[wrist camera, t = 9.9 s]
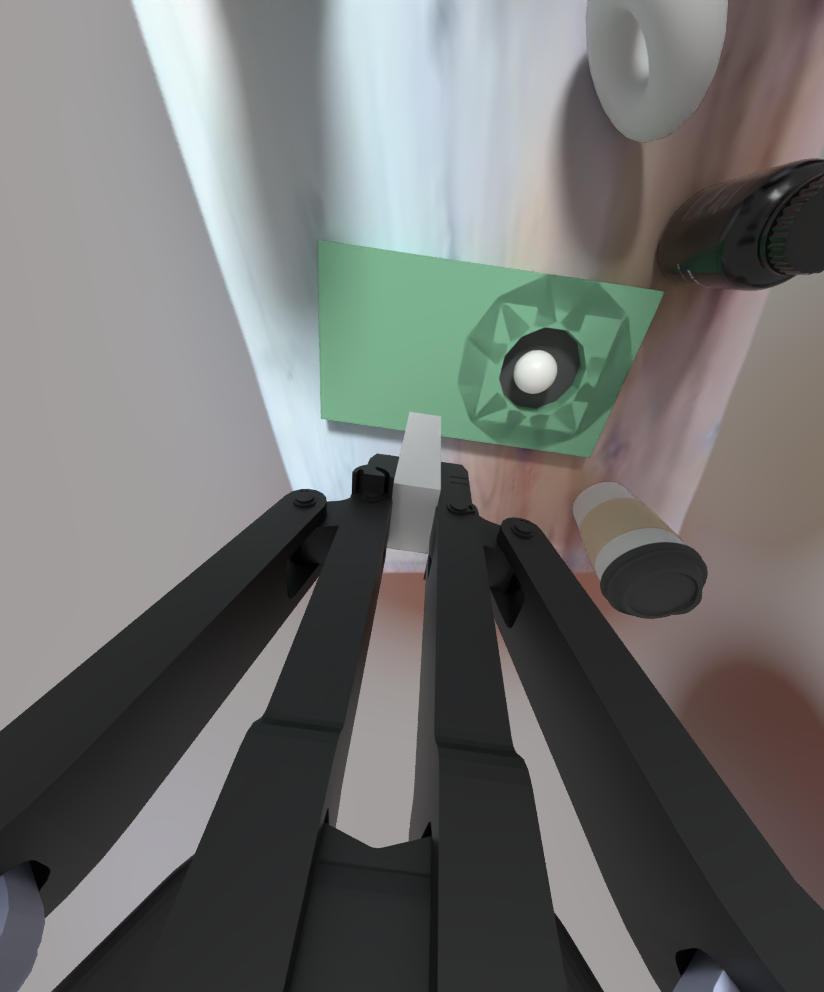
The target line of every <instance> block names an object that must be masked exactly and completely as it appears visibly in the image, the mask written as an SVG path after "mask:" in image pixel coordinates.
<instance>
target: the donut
mask: <svg viewBox="0 0 824 992" xmlns="http://www.w3.org/2000/svg"><path fill="white" fill-rule="evenodd" d="M727 9H728V0H588V3H587V11H586V43H587V53H588V60H589V66H590V72H591V76H592V79H593V83H594V86H595V90H596V93H597V96H598V98H599V100H600V102H601V105H602V107H603V109H604V111H605V113H606V114H607V116H608V117H609V119H610V120H611V122H612V123H613V125H614V126H615V128H616V129H618V130H619V131H620V132H621V133H622V134H623V135H624V136H625V137H626V138H629V139H632V140H635V141H638V142H642V143H647V142H650V141H654V140H658V139H662V138H665V137H667V136H669V135H670V134H672V133H673V132H675V131H676V130H677V129H678V128H679V127H680V126H681V125H682V124H683V123H684V122H685V121H686V120H687V119H688V118H689V117H690V116H691V115H692V114H693V113H694V112H695V111H696V110H697V108H698V106H699V105H700V103H701V102H702V100H703V98H704V96H705V94H706V92H707V90H708V88H709V86H710V84H711V82H712V80H713V78H714V76H715V73H716V70H717V67H718V63H719V59H720V55H721V51H722V47H723V43H724V39H725V35H726V24H727Z"/></svg>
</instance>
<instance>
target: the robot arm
mask: <svg viewBox="0 0 824 992" xmlns="http://www.w3.org/2000/svg"><path fill="white" fill-rule="evenodd" d="M386 548H391V549H398V550H405V551H412V552H419V553H426V554H428V551H429V555H428V560H427V564H426V569H425V574H424V579H425V580H426V584H425V602H424V603H425V604H424V623H423V639H422V657H421V658H422V659H421V675H420V676H421V677H420V694H419V712H418V731H417V749H416V766H415V785H414V798H413V805H412V813H411V820H410V829H409V842H405V843H400V844H396V845H392V846H388V847H383V848H372V847H370V846H368V845H366V844H364V843H362V842H360V841H359V840H357V839H355V838H353V837H351V836H349V835H347V834H345V833H344V832H342V831H340V830H338V829H336V828H335V827H336V822H337V815H338V809H339V803H340V796H341V789H342V783H343V778H344V772H345V767H346V762H347V756H348V751H349V746H350V740H351V735H352V730H353V725H354V719H355V715H356V709H357V704H358V698H359V693H360V688H361V683H362V678H363V673H364V667H365V662H366V657H367V651H368V646H369V641H370V636H371V631H372V625H373V620H374V614H375V609H376V605H377V599H378V594H379V589H380V584H381V578H382V573H383V568H384V563H385V557H386ZM318 577H319V578H318ZM317 578H318V580H317V583H316V586H315V588H314V591H313V594H312V596H311V598H310V601H309V603H308V606H307V608H306V611H305V613H304V616H303V618H302V621H301V624H300V626H299V628H298V631H297V634H296V636H295V639H294V641H293V644H292V647H291V649H290V651H289V654H288V656H287V659H286V661H285V664H284V667H283V669H282V672H281V674H280V677H279V679H278V682H277V684H276V687H275V689H274V692H273V694H272V697H271V699H270V702H269V704H268V707H267V709H266V711H265V713H264V714H263V716H262V717H261V718H260V719H258V720H257V721H255V722H253V724H252V725H251V727H250V728H249V730H248V731H247V733H246V735H245V737H244V739H243V742H242V743H241V746H240V748H239V751H238V752H237V755H236V758H235V760H234V762H233V764H232V767H231V769H230V771H229V774H228V776H227V779H226V781H225V783H224V786H223V788H222V790H221V793H220V795H219V798H218V800H217V802H216V805H215V807H214V810H213V812H212V814H211V817H210V819H209V821H208V824H207V826H206V829H205V831H204V833H203V836H202V838H201V841H200V843H199V845H198V848H197V850H196V853H195V854H194V855H193V856H191V857H190V858H189V859H188V860H187V861H185V862H184V863H183V864H182V865H181V866H179V867H178V868H177V869H176V870H174V871H173V872H172V873H171V874H170V875H169V876H168V877H167V878H166V879H165V880H164V881H163V882H162V883H161V884H160V885H159V886H158V887H157V888H156V889H155V890H154V891H153V892H152V893H151V894H150V895H149V896H148V897H147V898H146V899H145V900H144V901H143V902H142V903H141V904H140V905H139V906H138V907H137V908H136V909H135V910H133V912H131V914H129V915H128V917H127V918H125V919H124V921H122V922H121V923H120V924H119V925H118V926H117V927H116V928H115V929H114V930H113V931H112V932H111V933H110V934H109V935H108V936H107V937H106V938H105V939H104V940H103V941H102V942H101V943H100V944H99V945H98V946H97V947H96V948H95V949H94V950H93V951H92V952H91V953H90V954H89V955H88V956H87V957H86V958H85V959H84V960H83V961H82V962H81V963H80V964H79V965H78V966H77V967H76V968H75V969H74V970H73V971H72V972H71V973H70V974H69V975H68V976H67V977H66V978H65V979H64V980H63V981H62V982H61V983H60V984H59V985H58V986H57V987H56V988H55V989H53V991H52V992H604V991H603V989H602V988H601V986H600V984H599V983H598V981H597V980H596V978H595V976H594V975H593V973H592V971H591V970H590V968H589V966H588V965H587V963H586V961H585V960H584V958H583V956H582V955H581V953H580V951H579V950H578V948H577V946H576V945H575V943H574V941H573V940H572V938H571V936H570V935H569V933H568V932H567V930H566V928H565V927H564V925H563V924H562V922H561V921H560V919H559V918H558V917H557V916H556V914H555V913H554V910H553V904H552V899H551V892H550V887H549V881H548V875H547V869H546V863H545V858H544V852H543V847H542V841H541V834H540V829H539V823H538V817H537V811H536V806H535V800H534V794H533V788H532V784H531V779H530V776H529V771H528V768H527V766H526V764H525V761H524V759H523V758H522V757H521V756H520V755H518V754H517V753H516V751H515V749H514V747H513V742H512V738H511V731H510V724H509V718H508V710H507V704H506V697H505V690H504V683H503V677H502V670H501V663H500V656H499V649H498V642H497V636H496V630H495V622H494V618H495V621H496V623H497V625H498V628H499V630H500V633H501V635H502V637H503V640H504V642H505V645H506V647H507V649H508V652H509V654H510V656H511V659H512V661H513V663H514V666H515V668H516V671H517V673H518V675H519V678H520V680H521V682H522V685H523V687H524V690H525V692H526V695H527V697H528V699H529V702H530V704H531V706H532V709H533V711H534V713H535V716H536V718H537V721H538V723H539V725H540V728H541V730H542V732H543V735H544V737H545V740H546V742H547V744H548V747H549V749H550V752H551V754H552V756H553V759H554V761H555V764H556V766H557V768H558V770H559V773H560V775H561V778H562V780H563V783H564V785H565V787H566V790H567V792H568V795H569V797H570V799H571V801H572V804H573V806H574V809H575V811H576V814H577V816H578V818H579V821H580V823H581V826H582V828H583V830H584V833H585V835H586V837H587V839H588V842H589V844H590V847H591V849H592V852H593V854H594V856H595V859H596V861H597V864H598V866H599V868H600V871H601V873H602V876H603V878H604V880H605V883H606V885H607V887H608V889H609V892H610V894H611V896H612V898H613V900H614V902H615V905H616V907H617V909H618V911H619V913H620V916H621V918H622V920H623V922H624V924H625V926H626V929H627V930H628V932H629V934H630V936H631V938H632V940H633V942H634V944H635V946H636V947H637V949H638V951H639V953H640V954H641V957H642V959H643V961H644V962H645V964H646V966H647V968H648V970H649V972H650V973H651V975H652V977H653V979H654V980H655V982H656V984H657V985H658V987H659V989H660V990H661V992H824V910H823V909H822V908H821V907H820V906H819V905H818V904H817V903H816V902H815V901H814V900H813V899H812V898H811V897H810V896H809V895H808V894H807V893H806V891H804V890H803V888H802V887H801V886H800V885H799V884H798V883H797V882H796V881H795V880H794V878H793V877H792V876H791V874H790V873H789V871H788V870H787V869H786V867H785V866H784V865H783V863H782V862H781V861H780V859H779V858H778V856H777V855H776V854H775V852H774V851H773V849H772V848H771V847H770V846H769V844H768V842H767V841H766V840H765V838H764V837H763V836H762V834H761V833H760V832H759V830H758V829H757V827H756V826H755V825H754V823H753V822H752V821H751V819H750V818H749V816H748V815H747V813H746V812H745V811H744V809H743V808H742V807H741V805H740V804H739V802H738V801H737V800H736V798H735V797H734V796H733V794H732V793H731V791H730V790H729V789H728V787H727V786H726V785H725V783H724V782H723V780H722V779H721V778H720V776H719V775H718V774H717V772H716V771H715V769H714V768H713V767H712V765H711V764H710V763H709V761H708V760H707V758H706V757H705V755H704V754H703V753H702V751H701V750H700V749H699V747H698V746H697V744H696V743H695V742H694V740H693V739H692V738H691V736H690V735H689V733H688V732H687V731H686V729H685V728H684V727H683V725H682V724H681V722H680V721H679V720H678V718H677V717H676V716H675V714H674V713H673V711H672V710H671V709H670V707H669V706H668V704H667V703H666V702H665V700H664V699H663V698H662V696H661V695H660V693H659V692H658V691H657V689H656V688H655V687H654V685H653V684H652V682H651V681H650V680H649V678H648V677H647V675H646V674H645V673H644V671H643V670H642V669H641V667H640V666H639V664H638V663H637V662H636V660H635V659H634V657H633V656H632V655H631V653H630V652H629V651H628V649H627V648H626V646H625V645H624V644H623V642H622V641H621V640H620V638H619V637H618V635H617V634H616V633H615V631H614V630H613V628H612V627H611V626H610V624H609V623H608V622H607V620H606V619H605V618H604V616H603V615H602V613H601V612H600V611H599V609H598V608H597V606H596V605H595V604H594V602H593V601H592V599H591V598H590V597H589V595H588V594H587V593H586V591H585V590H584V588H583V587H582V586H581V584H580V583H579V582H578V580H577V579H576V577H575V576H574V575H573V573H572V572H571V570H570V569H569V568H568V566H567V565H566V564H565V562H564V561H563V559H562V558H561V557H560V555H559V554H558V553H557V551H556V550H555V548H554V547H553V546H552V544H551V543H550V541H549V540H548V539H547V537H546V536H545V535H544V533H543V532H542V530H541V529H540V528H539V527H538V526H537V525H535V524H533V523H532V522H530V521H528V520H525V519H522V518H514V517H513V518H507V519H505V520H504V521H502V524H501V526H500V525H498V524H495V523H492V522H489V521H487V520H485V519H483V518H482V517H480V516H479V513H478V510H477V508H476V506H475V505H473V504H472V500H471V492H470V486H469V477H468V471H467V470H466V469H465V468H464V467H463V465H459V464H452V463H446V462H441V416H436V415H429V414H422V413H415V412H409V417H408V421H407V425H406V430H405V434H404V439H403V443H402V448H401V452H400V457H397V456H391V455H384V454H376V455H374V456H373V457H372V458H370V460H369V462H368V465H363V466H360V467H357V468H356V469H355V470H354V471H353V472H352V494H351V497H350V498H348V499H345V500H341V501H329V502H327V501H326V497H325V496H324V494H323V493H321V492H319V491H316V490H311V489H300V490H296V491H292V492H291V493H289V494H287V495H286V496H284V497H283V498H282V499H281V500H279V501H278V502H277V503H276V504H275V505H273V506H272V507H271V508H270V509H269V510H267V511H266V512H265V513H264V514H263V515H262V516H260V517H259V518H258V519H256V520H255V521H254V522H253V523H252V524H250V525H249V526H248V527H247V528H246V529H245V530H243V531H242V532H241V533H240V534H239V535H237V536H236V537H235V538H233V539H232V540H231V541H230V542H229V543H227V544H226V545H225V546H224V547H223V548H221V549H220V550H219V551H218V552H217V553H216V554H214V555H213V556H212V557H211V558H209V559H208V560H207V561H206V562H204V563H203V564H202V565H201V566H200V567H198V568H197V569H196V570H195V571H194V572H192V573H191V574H190V575H189V576H188V577H186V578H185V579H184V580H183V581H182V582H180V583H179V584H178V585H177V586H175V587H174V588H173V589H172V590H171V591H169V592H168V593H167V594H166V595H165V596H163V597H162V598H161V599H160V600H159V601H157V602H156V603H155V604H154V605H152V606H151V607H150V608H149V609H148V610H146V611H145V612H144V613H143V614H142V615H140V616H139V617H138V618H137V619H136V620H134V621H133V622H132V623H131V624H129V625H128V626H127V627H126V628H125V629H123V630H122V631H121V632H120V633H119V634H117V635H116V636H115V637H114V638H113V639H111V640H110V641H109V642H108V643H107V644H105V645H104V646H103V647H102V648H100V649H99V650H98V651H97V652H96V653H94V654H93V655H92V656H91V657H90V658H88V659H87V660H86V661H85V662H84V663H82V664H81V665H80V666H79V667H77V668H76V669H75V670H74V671H73V672H71V673H70V674H69V675H68V676H67V677H65V678H64V679H63V680H62V681H61V682H59V683H58V684H57V685H56V686H55V687H53V688H52V689H51V690H50V691H48V692H47V693H46V694H45V695H44V696H42V697H41V698H40V699H39V700H38V701H36V702H35V703H34V704H33V705H32V706H30V707H29V708H28V709H27V710H25V712H23V713H22V714H21V715H19V716H18V717H17V718H16V719H15V720H13V721H12V722H11V723H10V724H9V725H7V726H6V727H5V728H4V729H3V730H1V731H0V992H17V991H18V990H19V989H20V987H21V986H22V985H23V983H24V981H25V980H26V978H27V977H28V976H29V974H30V972H31V971H32V968H33V965H34V963H35V960H36V957H37V950H38V948H39V945H40V943H41V939H42V934H43V929H44V924H45V918H46V917H47V916H48V915H49V914H50V913H51V912H52V911H53V910H54V909H55V908H56V907H57V906H58V905H59V904H60V903H61V902H62V901H63V900H64V899H66V897H67V896H68V895H69V894H70V893H71V892H72V891H73V890H74V889H75V887H77V886H78V884H79V883H80V882H81V881H82V880H83V879H84V878H85V877H86V876H87V875H88V874H89V873H90V871H91V870H92V869H93V868H94V867H95V866H96V865H97V864H98V863H99V862H100V861H101V859H102V858H103V857H104V856H105V855H106V853H107V852H108V851H109V850H110V849H111V847H112V846H113V845H114V844H115V842H116V841H117V840H118V839H119V838H120V836H121V835H122V834H123V833H124V831H125V830H126V829H127V827H129V825H130V824H131V823H132V822H133V820H134V819H135V818H136V816H137V815H138V814H139V812H140V811H141V810H142V808H143V807H144V806H145V804H146V803H147V802H148V800H149V799H150V798H151V797H152V795H153V794H154V793H155V791H156V790H157V788H158V787H159V786H160V785H161V783H162V782H163V781H164V779H165V778H166V777H167V776H168V774H169V773H170V772H171V770H172V769H173V768H174V766H175V765H176V764H177V762H178V761H179V760H180V758H181V757H182V756H183V754H184V753H185V752H186V751H187V749H188V748H189V747H190V745H191V744H192V743H193V741H194V740H195V739H196V737H197V736H198V735H199V733H200V732H201V731H202V729H203V728H204V727H205V725H206V724H207V723H208V722H209V720H210V719H211V718H212V716H213V715H214V714H215V712H216V711H217V710H218V708H219V707H220V706H221V704H222V703H223V702H224V700H225V699H226V698H227V697H228V695H229V694H230V693H231V691H232V690H233V689H234V687H235V686H236V684H237V683H238V682H239V681H240V679H241V678H242V677H243V675H244V674H245V673H246V672H247V670H248V669H249V668H250V666H251V665H252V664H253V662H254V661H255V660H256V658H257V657H258V656H259V654H260V653H261V652H262V651H263V649H264V648H265V647H266V645H267V644H268V643H269V641H270V640H271V639H272V637H273V636H274V635H275V633H276V632H277V631H278V629H279V628H280V627H281V626H282V624H283V623H284V621H285V620H286V619H287V618H288V616H289V615H290V614H291V612H292V611H293V610H294V608H295V607H296V606H297V604H298V603H299V602H300V600H301V599H302V598H303V597H304V595H305V594H306V592H307V591H308V590H309V589H310V587H311V586H312V585H313V583H314V582H315V581H316V579H317Z"/></svg>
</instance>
